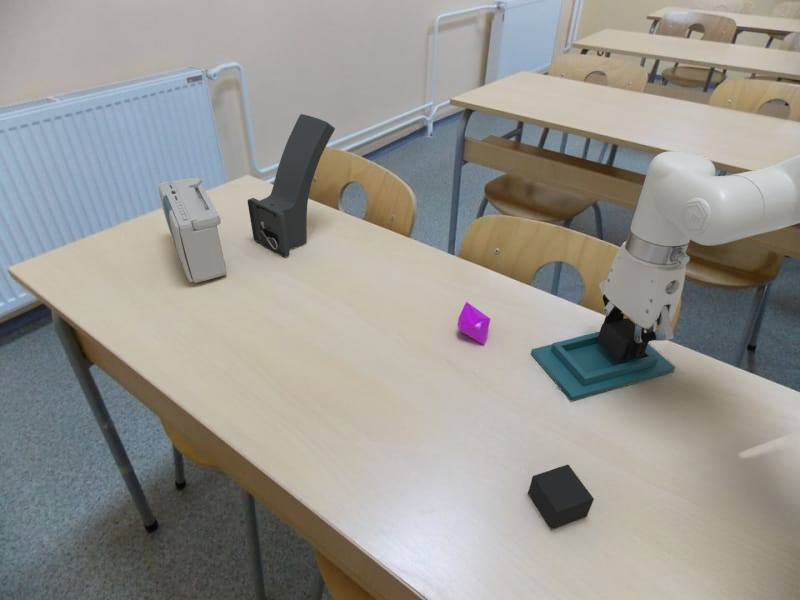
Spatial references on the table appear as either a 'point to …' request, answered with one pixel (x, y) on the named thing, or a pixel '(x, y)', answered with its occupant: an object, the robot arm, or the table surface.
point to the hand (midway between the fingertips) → (620, 345)
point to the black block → (616, 337)
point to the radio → (193, 228)
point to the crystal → (473, 323)
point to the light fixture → (290, 188)
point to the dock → (595, 366)
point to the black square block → (560, 496)
